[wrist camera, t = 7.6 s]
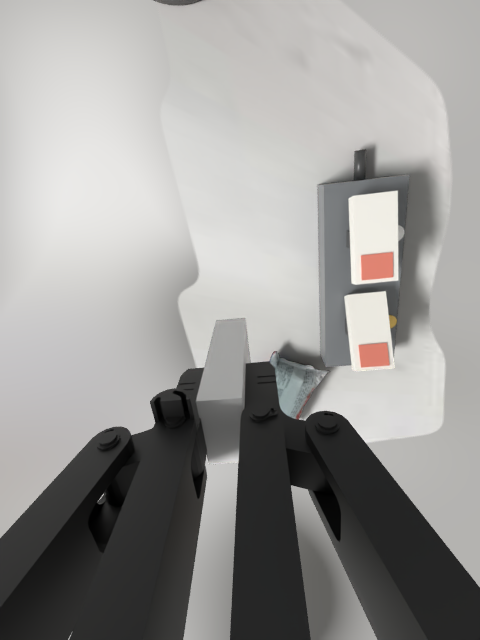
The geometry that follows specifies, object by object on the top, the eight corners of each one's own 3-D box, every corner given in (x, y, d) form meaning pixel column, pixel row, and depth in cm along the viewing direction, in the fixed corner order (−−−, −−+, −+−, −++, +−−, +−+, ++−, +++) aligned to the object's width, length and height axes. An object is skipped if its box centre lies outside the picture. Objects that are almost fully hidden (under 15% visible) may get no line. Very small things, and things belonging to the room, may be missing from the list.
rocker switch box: (317, 156, 36) (327, 152, 32) (397, 146, 36) (420, 140, 31) (320, 354, 46) (328, 373, 42) (383, 349, 46) (398, 368, 41)
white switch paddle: (344, 296, 39) (347, 294, 37) (380, 293, 39) (386, 290, 37) (352, 369, 38) (356, 371, 37) (389, 367, 38) (395, 368, 36)
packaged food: (326, 362, 47) (333, 381, 43) (293, 421, 52) (296, 443, 47) (272, 342, 46) (274, 359, 42) (243, 404, 51) (241, 425, 46)
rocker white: (348, 198, 34) (353, 195, 32) (391, 193, 33) (398, 190, 32) (351, 283, 35) (356, 284, 34) (392, 279, 35) (399, 280, 33)
